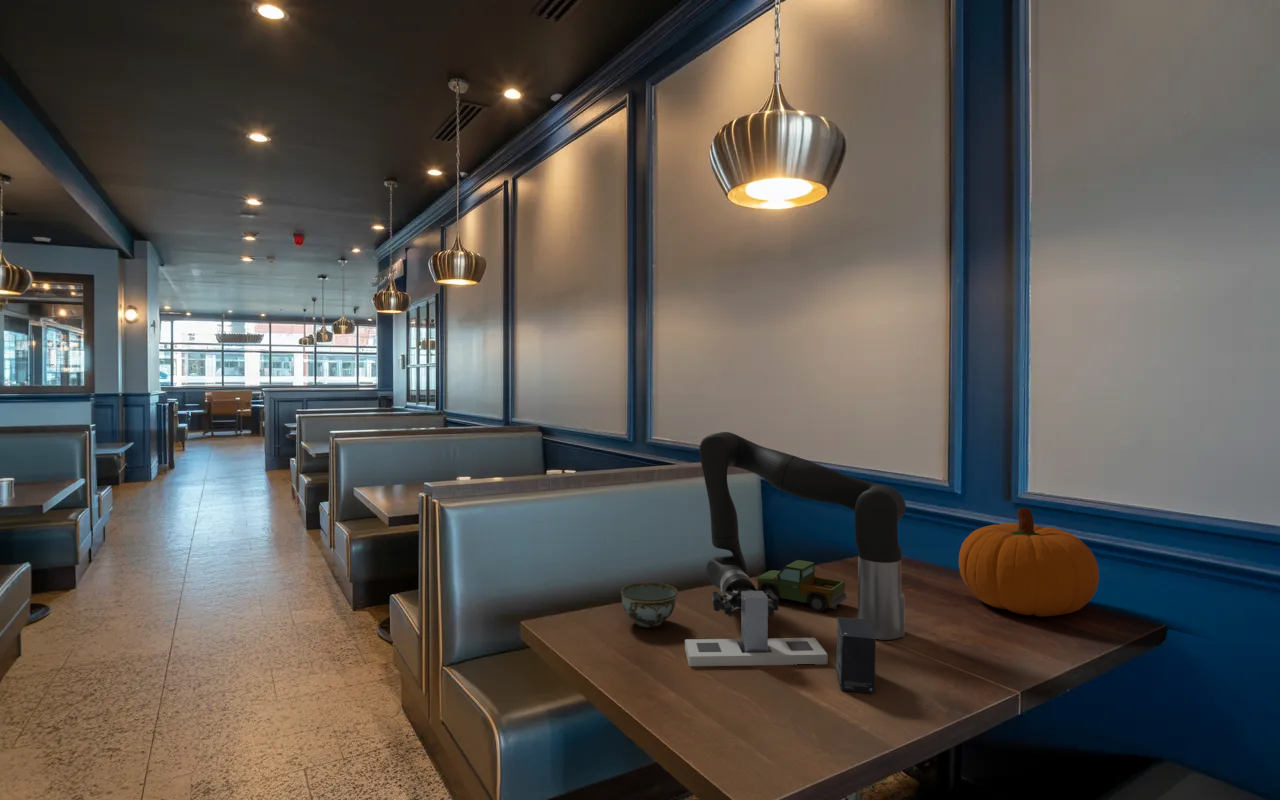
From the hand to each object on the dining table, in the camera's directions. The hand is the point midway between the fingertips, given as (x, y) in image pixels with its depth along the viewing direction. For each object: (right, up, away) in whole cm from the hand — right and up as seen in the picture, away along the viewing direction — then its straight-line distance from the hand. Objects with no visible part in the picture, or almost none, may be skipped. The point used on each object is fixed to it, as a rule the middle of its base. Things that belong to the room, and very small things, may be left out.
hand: (750, 612), depth 143 cm
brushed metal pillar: (0, -8, -4) cm, 9 cm away
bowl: (-21, -8, +16) cm, 28 cm away
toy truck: (+18, -8, +32) cm, 37 cm away
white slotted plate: (0, -8, -4) cm, 9 cm away
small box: (+18, -9, -15) cm, 25 cm away
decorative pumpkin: (+75, -8, +28) cm, 80 cm away
